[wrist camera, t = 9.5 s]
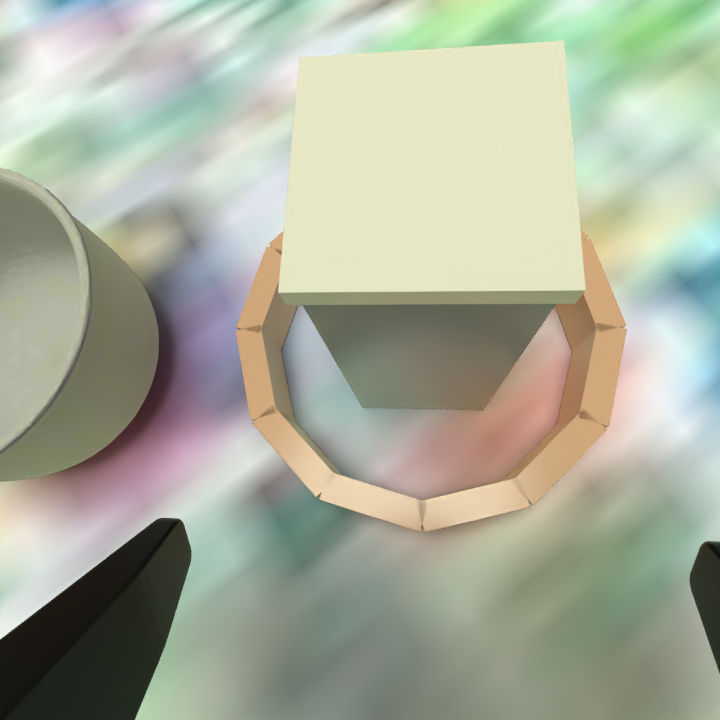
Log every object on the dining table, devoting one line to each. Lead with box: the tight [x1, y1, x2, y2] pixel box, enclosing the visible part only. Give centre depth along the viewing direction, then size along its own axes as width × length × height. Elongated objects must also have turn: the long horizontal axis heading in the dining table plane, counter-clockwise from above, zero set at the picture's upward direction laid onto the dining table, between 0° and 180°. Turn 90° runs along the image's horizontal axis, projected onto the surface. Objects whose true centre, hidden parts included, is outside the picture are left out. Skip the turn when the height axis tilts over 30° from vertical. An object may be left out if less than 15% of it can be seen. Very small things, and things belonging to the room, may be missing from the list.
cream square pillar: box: [278, 41, 586, 410], centre depth 16 cm, size 5×5×13 cm
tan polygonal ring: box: [236, 230, 627, 532], centre depth 20 cm, size 14×14×3 cm
